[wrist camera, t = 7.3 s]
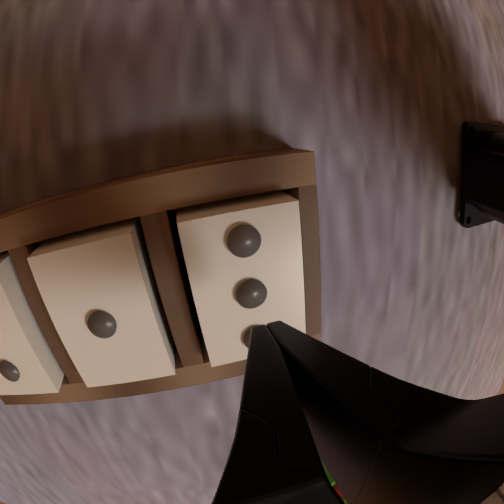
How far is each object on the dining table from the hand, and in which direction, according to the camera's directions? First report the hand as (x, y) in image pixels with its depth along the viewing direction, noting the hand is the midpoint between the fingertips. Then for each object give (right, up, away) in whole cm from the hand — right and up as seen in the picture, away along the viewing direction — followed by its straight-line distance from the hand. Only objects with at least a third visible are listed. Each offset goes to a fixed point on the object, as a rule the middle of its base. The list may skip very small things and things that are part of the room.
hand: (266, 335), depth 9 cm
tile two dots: (-12, -1, +2) cm, 12 cm away
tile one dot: (-6, +1, +3) cm, 7 cm away
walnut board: (-6, +1, +4) cm, 7 cm away
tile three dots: (-1, +2, +4) cm, 5 cm away
